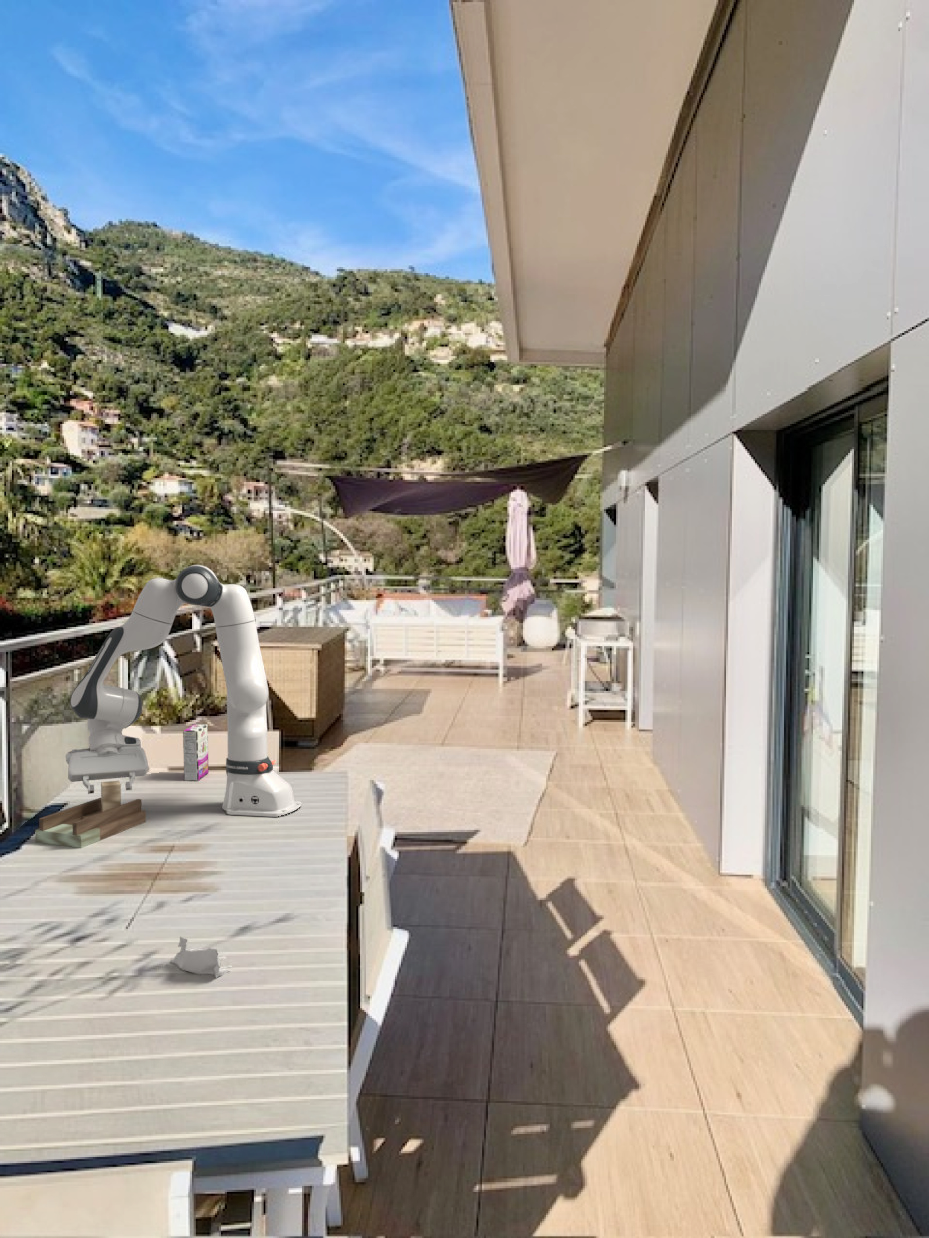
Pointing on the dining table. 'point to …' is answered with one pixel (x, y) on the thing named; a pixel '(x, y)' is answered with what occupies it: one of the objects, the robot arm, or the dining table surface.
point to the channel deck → (88, 823)
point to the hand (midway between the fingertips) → (110, 790)
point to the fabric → (199, 960)
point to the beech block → (110, 795)
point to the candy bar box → (195, 752)
